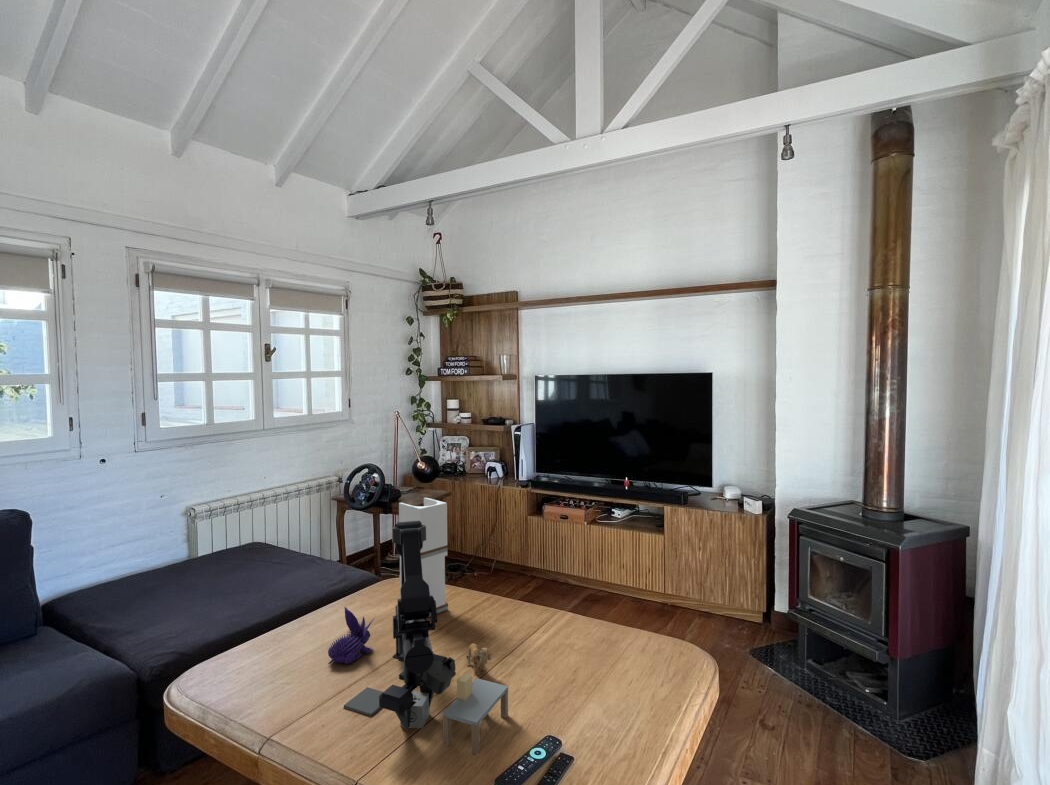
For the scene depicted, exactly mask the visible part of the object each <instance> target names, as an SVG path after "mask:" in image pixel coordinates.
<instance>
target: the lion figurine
mask: <svg viewBox="0 0 1050 785" xmlns="http://www.w3.org/2000/svg"><path fill="white" fill-rule="evenodd" d="M467 652H468V653H467V655H466V659H468V660H467V665H466V666H467V667H470V668H471V665H472V664H471V661H473V671H474V674H473V675H474V676H478V674H479V672H478V667H479V668H480V673H481V674H483V673H485V672H486V670H484V667H485V665H487V664H488V663H489V661H491V660H492V658H493V653H491V652H490V651H488V648H487V647H481V648H479V647H478V645H477V643H476V644H475V643H472V642H471V644H469V647H468V650H467Z"/></svg>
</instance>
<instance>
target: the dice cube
mask: <svg viewBox="0 0 1050 785" xmlns="http://www.w3.org/2000/svg"><path fill="white" fill-rule="evenodd" d="M412 694H413V701H415V702H416V703H415V704H414V705H413V706H412V707H411V718H410V727H409V728H416V729H417V728H418V729H424V726H425V724H426V723H427V721H428V719H429V716H430V715H431V714H430V708H429V693H420V691H419V692H418V691H417V692H416V691H413V692H412ZM399 722H400V721H399ZM399 725H400V727H401V728H404V727H403V725H402V723H401V722H400V724H399Z"/></svg>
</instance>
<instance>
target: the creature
mask: <svg viewBox="0 0 1050 785" xmlns="http://www.w3.org/2000/svg"><path fill="white" fill-rule="evenodd" d="M344 618H345V623H346V626H347V627H348V628H347V630H348V631H347V633H346V634H343V635H341V636H339V638H337V639H336V638H335V640H333V642H331V644H330V646H329V648H328V649H327V654H328V657H329V658H330V659H331V660H330V661H329V662H328V665H330V664H333V663H334V662H336V663H339V664H340V663H341V664H342V663H345V664H347V665H349V664H351V663H353V662H355V661H357V660H358V659H360V657H361V656H362V655H363V654H370V653H371V652H372V650H374V649H375V648H373V647H372V648H371V647H369V646H366V645H365V644H367V642H368V641H369V640H370V637H371V633H370V631H369V630H368V629H369V627H370V626H371V625H372V623H373V621H374V619H375V618H372V620H371V621H370V622H369V623H368V624H367V626H366V619H365V617H364V615H363V616H362V620H361V621H360V620H358V618H357V617H356V616H355V615H354V613H353V612H352V611H350V610H349V608H347V606H344ZM360 652H361V653H360Z"/></svg>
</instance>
